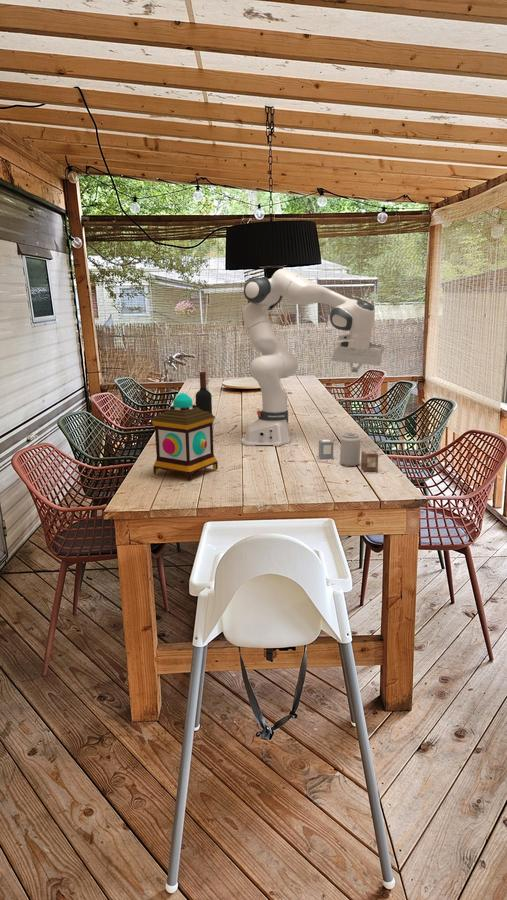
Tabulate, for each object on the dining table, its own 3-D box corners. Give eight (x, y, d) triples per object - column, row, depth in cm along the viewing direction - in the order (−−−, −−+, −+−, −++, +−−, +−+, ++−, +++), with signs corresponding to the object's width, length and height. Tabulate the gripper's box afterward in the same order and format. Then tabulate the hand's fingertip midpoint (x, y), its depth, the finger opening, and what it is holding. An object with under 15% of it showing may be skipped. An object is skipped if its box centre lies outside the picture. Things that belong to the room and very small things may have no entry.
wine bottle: (194, 436, 277) (191, 372, 269) (201, 432, 284) (199, 371, 276) (208, 437, 274) (206, 373, 266) (215, 433, 281) (213, 371, 273)
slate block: (320, 459, 233) (321, 442, 231) (318, 456, 238) (318, 439, 236) (333, 459, 233) (333, 442, 231) (330, 455, 238) (331, 439, 236)
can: (360, 462, 228) (361, 432, 225) (358, 467, 221) (359, 436, 218) (341, 461, 230) (342, 431, 227) (338, 466, 223) (339, 435, 220)
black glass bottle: (206, 419, 316) (204, 363, 309) (224, 421, 309) (223, 364, 302) (190, 423, 306) (188, 366, 299) (209, 425, 299) (207, 367, 292)
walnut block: (364, 473, 214) (364, 454, 212) (360, 469, 219) (361, 450, 217) (377, 472, 214) (378, 453, 212) (374, 468, 219) (374, 450, 217)
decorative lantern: (190, 483, 205) (186, 398, 198) (148, 475, 215) (143, 394, 208) (223, 469, 221) (220, 390, 214) (182, 462, 232) (178, 387, 224)
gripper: (384, 340, 239) (379, 371, 247) (334, 335, 241) (330, 366, 249) (385, 347, 234) (379, 377, 242) (334, 342, 235) (330, 372, 243)
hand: (354, 371), depth 245 cm, fingers closed
